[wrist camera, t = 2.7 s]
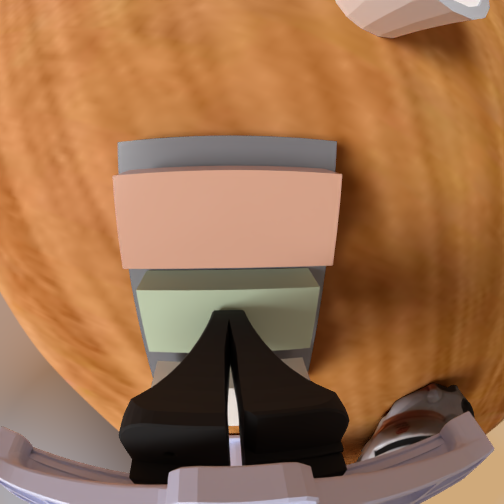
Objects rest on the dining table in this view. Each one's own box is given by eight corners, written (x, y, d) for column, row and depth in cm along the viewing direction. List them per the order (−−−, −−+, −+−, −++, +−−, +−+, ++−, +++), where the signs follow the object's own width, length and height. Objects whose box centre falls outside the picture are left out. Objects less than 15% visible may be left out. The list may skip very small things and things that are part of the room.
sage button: (301, 325, 15) (310, 347, 14) (156, 328, 15) (149, 351, 13) (307, 267, 14) (320, 286, 12) (146, 270, 13) (136, 290, 12)
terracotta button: (317, 247, 13) (332, 265, 11) (137, 249, 12) (122, 268, 10) (324, 168, 11) (342, 174, 9) (130, 169, 11) (112, 175, 9)
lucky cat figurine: (364, 459, 28) (350, 540, 16) (340, 399, 29) (318, 492, 16) (468, 425, 23) (489, 503, 10) (462, 355, 23) (503, 437, 10)
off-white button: (295, 396, 16) (301, 420, 14) (167, 399, 16) (164, 424, 14) (302, 357, 15) (310, 382, 13) (157, 360, 14) (151, 386, 12)
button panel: (297, 373, 20) (303, 393, 18) (162, 377, 19) (158, 397, 17) (322, 141, 14) (336, 141, 12) (131, 141, 13) (117, 142, 11)
